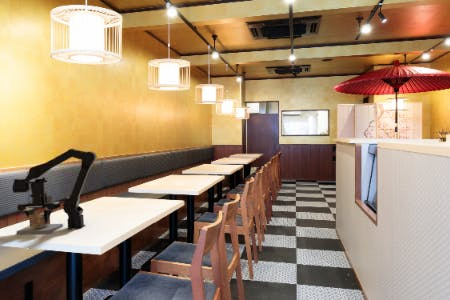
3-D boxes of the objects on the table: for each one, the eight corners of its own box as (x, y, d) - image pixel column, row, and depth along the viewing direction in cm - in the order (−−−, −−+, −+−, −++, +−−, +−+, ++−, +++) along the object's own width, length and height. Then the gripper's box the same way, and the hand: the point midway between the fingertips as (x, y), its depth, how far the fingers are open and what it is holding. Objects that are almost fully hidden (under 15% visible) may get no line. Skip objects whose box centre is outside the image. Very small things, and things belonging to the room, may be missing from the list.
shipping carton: (50, 223, 169) (49, 211, 169) (42, 227, 163) (42, 214, 162) (37, 223, 169) (36, 211, 169) (29, 227, 163) (29, 214, 163)
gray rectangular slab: (62, 226, 172) (62, 223, 172) (49, 233, 160) (49, 230, 160) (31, 227, 172) (31, 224, 172) (16, 234, 160) (16, 231, 160)
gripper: (65, 188, 173) (67, 218, 174) (29, 189, 174) (31, 219, 174) (53, 192, 162) (55, 224, 162) (15, 193, 162) (17, 225, 163)
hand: (40, 223), depth 166 cm, fingers closed on shipping carton, 6 cm apart
